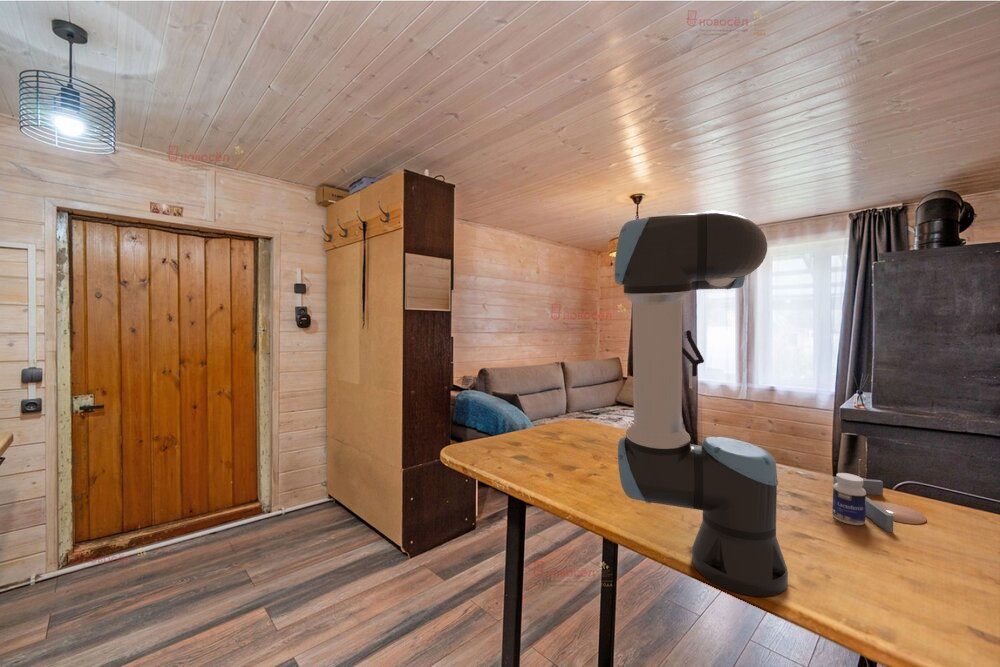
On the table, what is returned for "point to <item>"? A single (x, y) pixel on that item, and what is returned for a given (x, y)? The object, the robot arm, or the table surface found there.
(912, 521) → the pad
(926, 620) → the table surface
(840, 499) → the pill bottle
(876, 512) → the low walls
